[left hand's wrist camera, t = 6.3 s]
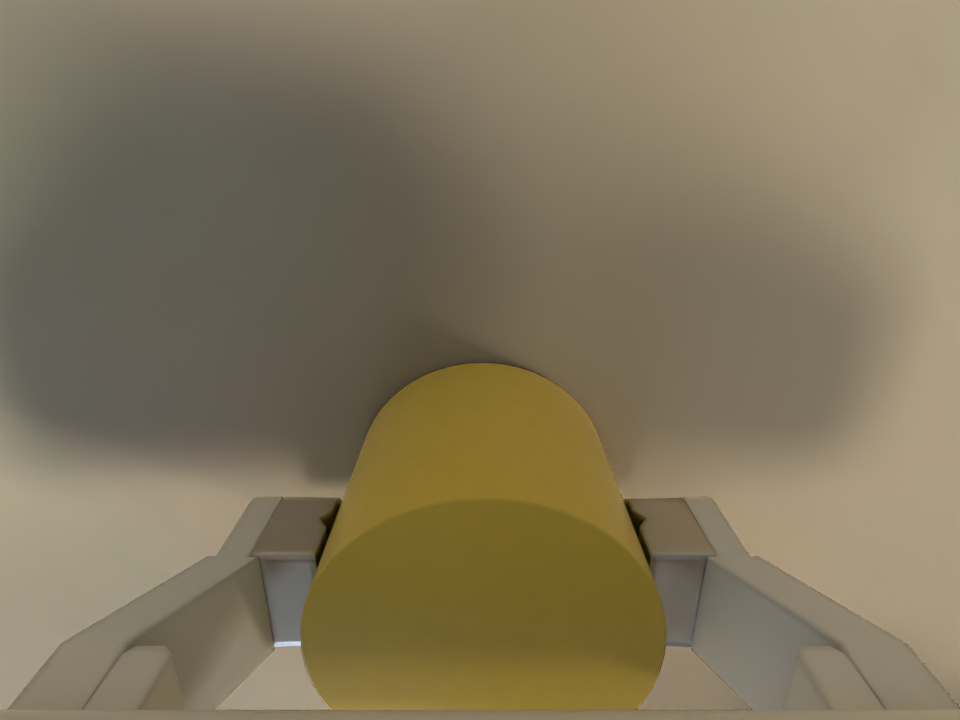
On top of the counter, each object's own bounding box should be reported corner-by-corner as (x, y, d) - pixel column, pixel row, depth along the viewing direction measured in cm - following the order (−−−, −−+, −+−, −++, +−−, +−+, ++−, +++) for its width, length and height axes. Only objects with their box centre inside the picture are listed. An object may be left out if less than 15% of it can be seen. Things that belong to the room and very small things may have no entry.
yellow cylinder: (354, 359, 11) (280, 494, 7) (615, 364, 11) (695, 501, 7) (367, 568, 13) (314, 771, 9) (591, 571, 13) (643, 776, 9)
